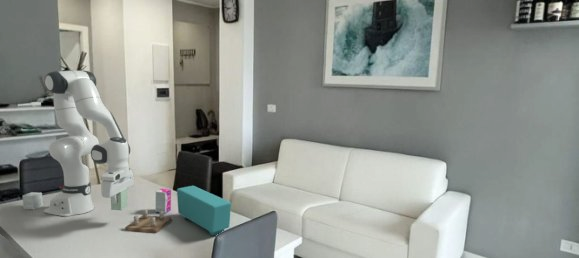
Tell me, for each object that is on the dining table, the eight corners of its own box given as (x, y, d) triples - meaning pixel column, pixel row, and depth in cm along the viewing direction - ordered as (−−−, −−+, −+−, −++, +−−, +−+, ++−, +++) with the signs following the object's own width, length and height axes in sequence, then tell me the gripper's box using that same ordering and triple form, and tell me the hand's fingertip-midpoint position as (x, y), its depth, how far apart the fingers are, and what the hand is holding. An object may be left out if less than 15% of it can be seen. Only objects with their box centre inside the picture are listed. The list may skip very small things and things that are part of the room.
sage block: (111, 209, 164) (110, 191, 162) (117, 205, 168) (117, 187, 167) (121, 210, 163) (120, 191, 162) (127, 206, 168) (127, 188, 167)
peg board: (125, 230, 159) (124, 218, 159) (142, 218, 174) (142, 207, 173) (156, 233, 158) (156, 221, 157) (171, 220, 172) (171, 209, 172)
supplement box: (165, 213, 180) (165, 192, 179) (155, 212, 181) (154, 191, 180) (171, 210, 186) (171, 189, 184) (161, 208, 187) (161, 188, 186)
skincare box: (43, 205, 187) (42, 192, 186) (33, 209, 181) (32, 196, 180) (32, 205, 187) (31, 191, 186) (23, 209, 181) (22, 195, 180)
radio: (233, 233, 160) (233, 201, 158) (213, 240, 153) (213, 206, 151) (195, 212, 184) (195, 184, 182) (176, 217, 177) (176, 188, 175)
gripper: (125, 166, 174) (125, 193, 176) (98, 177, 154) (98, 207, 156) (137, 167, 173) (137, 194, 175) (111, 178, 153) (112, 208, 155)
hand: (119, 200), depth 165 cm, fingers closed on sage block, 5 cm apart
